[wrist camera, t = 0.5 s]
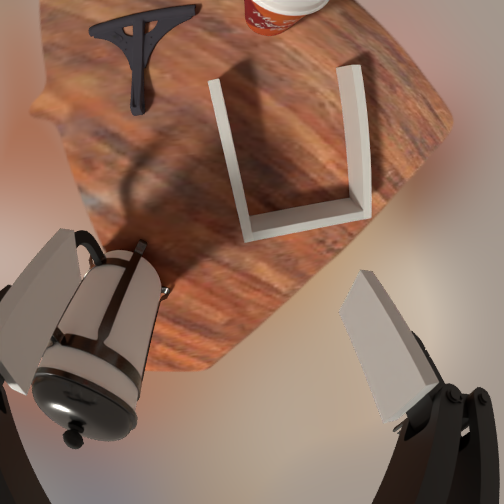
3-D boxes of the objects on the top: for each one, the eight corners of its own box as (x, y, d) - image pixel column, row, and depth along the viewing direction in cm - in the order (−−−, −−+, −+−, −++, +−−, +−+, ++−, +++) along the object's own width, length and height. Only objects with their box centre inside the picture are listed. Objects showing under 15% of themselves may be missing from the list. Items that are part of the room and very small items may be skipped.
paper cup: (245, 48, 27) (256, 17, 15) (229, 0, 23) (231, -50, 11) (305, 38, 26) (349, 9, 14) (289, -9, 22) (322, -55, 10)
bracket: (95, 123, 30) (86, 125, 27) (93, 27, 22) (85, 24, 20) (195, 108, 31) (193, 109, 29) (196, 7, 23) (194, 0, 21)
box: (210, 83, 29) (207, 81, 24) (344, 67, 28) (360, 64, 24) (242, 225, 39) (244, 242, 35) (356, 203, 39) (371, 217, 35)
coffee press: (193, 259, 42) (169, 462, 16) (151, 318, 48) (121, 475, 22) (97, 202, 35) (-28, 367, 10) (71, 274, 41) (-2, 417, 16)
